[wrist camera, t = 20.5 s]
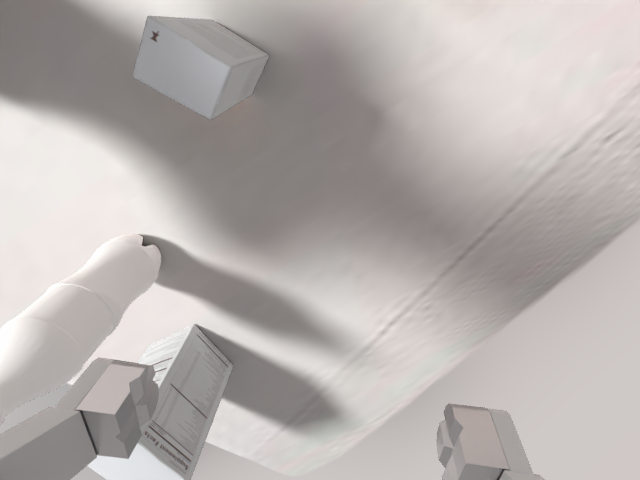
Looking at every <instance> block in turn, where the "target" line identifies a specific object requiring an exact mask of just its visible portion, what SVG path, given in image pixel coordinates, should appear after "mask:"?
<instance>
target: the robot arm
mask: <svg viewBox="0 0 640 480" xmlns="http://www.w3.org/2000/svg"><path fill="white" fill-rule="evenodd" d="M154 376H155V370H154V366H151V365H145V364H139V363H133V362H126V361H120V360H113V359H106V358H98V359H96V360H94V361H93V362H92V363H91V364H90V365H89V367H88V368H87V369H86V370H85V371H84V373H83V374H82V375H81V376H80V377H79V379H78V380H77V381H76V382H75V383H74V385H73V386H72V387H71V388H70V389H69V391H68V392H67V393H66V394H65V396H64V397H63V398H62V399H61V400H60V401H59V403H58V404H57V405H56V406H55V407H48V408H46V409H44V410H43V411H41V412H39V413H37V414H35V415H34V416H32V417H30V418H28V419H27V420H25V421H23V422H21V423H19V424H18V425H16V426H14V427H12V428H11V429H9V430H7V431H5V432H3V433H2V434H0V480H70V479H71V478H73V477H74V476H75V475H76V474H78V473H79V472H80V471H81V470H82V469H84V468H85V467H86V466H87V465H88V464H90V463H91V462H92V461H93V460H94V459H96V458H97V455H99V456H107V457H116V458H125V459H129V457H130V455H131V454H132V452H133V450H134V448H135V446H136V445H137V443H138V441H139V439H140V437H141V436H142V433H141V426H142V425H144V424H145V423H146V422H148V421H149V420H150V419H151V417H152V416H153V414H154V412H155V410H156V406H157V403H158V400H159V388H158V385H157V384H156V383H155V382H154V381H153V380H152V379H153V378H154ZM444 416H445V420H444V421H442V422H440V425H439V427H438V431H437V452H438V458H439V461H440V462H441V463H442V465H443V466H444V467H445V471H444V474H443V476H442V480H544V479H543V478H542V477H541V476H540V475H537V474H533V472H532V470H531V467H530V464H529V462H528V459H527V457H526V454H525V451H524V449H523V447H522V444H521V441H520V439H519V436H518V434H517V431H516V429H515V426H514V424H513V421H512V419H511V416H510V414H509V413H508V412H507V411H503V410H495V409H486V408H483V407H474V406H466V405H457V404H448V405H447V406H446V407H445V410H444Z"/></svg>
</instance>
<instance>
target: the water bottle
mask: <svg viewBox="0 0 640 480" xmlns="http://www.w3.org/2000/svg"><path fill="white" fill-rule="evenodd" d="M142 242H143V237H142V236H140V235H137V234H125V235H120V236H118V237H115V238H113V239H111V240H109V241H107V242H106V243H104V244H103V245H102V246H101V247H99V248H98V249H97V250H96V251H95V253H94V254H93V256H92V257H91V259H90V260H89V261H88V262H87V263H86V264H85V265H84V266H83V267H82V268H81V269H80V270H79V271H77V272H76V273H75V274H73V275H72V276H70V277H68V278H66V279H64V280H63V281H61V282H58V283H56V284H54V285H52V286H51V287H50V288H49V289H48V290H47V291H46V293H45V294H44V295H43V296H41V297H40V298H39V299H38V300H37V301H35V302H34V303H33V304H32V305H30V306H29V307H28V308H27V309H26V310H24V311H23V312H22V313H21V314H19V315H18V316H17V317H16V318H14V319H12V320H10V321H8V322H7V323H6V324H5V325H4V326H3V327H2V328H1V329H0V426H1V425H2V424H3V423H4V417H5V416H7V415H8V414H9V413H10V412H11V411H13V410H14V409H16V408H18V407H19V406H21V405H23V404H25V403H27V402H29V401H31V400H34V399H36V398H38V397H41V396H43V395H45V394H47V393H49V392H51V391H53V390H55V389H57V388H59V387H61V386H62V385H64V384H65V383H67V382H68V381H70V380H71V379H72V378H73V377H75V376H76V374H77V373H78V372H79V371H80V370H81V369H82V367H83V365H84V363H85V362H86V361H87V360H88V359H89V357H90V356H91V355H92V354H93V353H94V352H95V350H96V349H97V348H98V347H99V346H100V344H101V343H102V342H103V341H104V340H105V339H106V337H107V336H109V335H110V334H111V333H112V332H113V331H114V330H115V329H116V327H117V326H118V324H119V322H120V320H121V318H122V316H123V314H124V312H125V311H126V309H127V308H128V307H129V305H130V304H131V303H132V302H133V301H134V300H135V299H136V298H137V297H139V296H140V295H142V294H143V293H145V292H146V291H147V290H148V289H149V288H150V287H151V286H152V284H153V283H154V282H155V280H156V279H157V277H158V274H159V269H160V265H161V253H160V251H159V249H158V248H157V247H156V246H155V245H149V246H146V247H145V246H142Z"/></svg>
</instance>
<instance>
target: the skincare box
mask: <svg viewBox="0 0 640 480" xmlns="http://www.w3.org/2000/svg"><path fill="white" fill-rule="evenodd" d="M268 58H269V55H268V54H266V53H265V52H263V51H262V50H260V49H258V48H257V47H255V46H254V45H252V44H250V43H249V42H247V41H246V40H244V39H242V38H241V37H239V36H238V35H236V34H234V33H233V32H231V31H229V30H228V29H226V28H225V27H223V26H221V25H220V24H218V23H216V22H215V21H213V20H207V19H189V18H174V17H160V16H148V17H147V20H146V24H145V28H144V32H143V36H142V41H141V45H140V49H139V53H138V57H137V60H136V64H135V68H134V72H133V77H134V78H135V79H137V80H139V81H140V82H142V83H144V84H146V85H147V86H149V87H151V88H153V89H155V90H156V91H158V92H160V93H162V94H163V95H165V96H167V97H169V98H171V99H173V100H174V101H176V102H178V103H180V104H182V105H184V106H185V107H187V108H189V109H191V110H193V111H194V112H196V113H198V114H200V115H202V116H203V117H205V118H207V119H208V120H212V119H214V118H215V117H217V116H218V115H220V114H222V113H223V112H225V111H226V110H228V109H230V108H231V107H233V106H235V105H236V104H238V103H239V102H241V101H243V100H244V99H246V98H248V97H249V96H251V95H252V93H253V91H254V89H255V86H256V84H257V82H258V80H259V78H260V76H261V73H262V71H263V69H264V67H265V65H266V62H267V60H268Z"/></svg>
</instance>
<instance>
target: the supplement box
mask: <svg viewBox="0 0 640 480" xmlns="http://www.w3.org/2000/svg"><path fill="white" fill-rule="evenodd" d="M138 363H139V364H145V365H151V366H154V370H155V376H154V378H153V379H152V380H153V381H154V382H155V383H156V384H157V385H158V388H159V400H158V403H157V406H156V410H155V412H154V414H153V416H152V417H151V419H150V420H149V421H148V422H146V423H145V424H144V425H142V426H141V433H142V436H141V437H140V439H139V441H138V443H137V445H136V446H135V448H134V450H133V452H132V454H131V455H130V457H129V459H125V458H116V457H107V456H99V455H97V458H96V459H94V460H93V461H92V462H91V463H90V464H88V465H87V466H89V467H90V468H91V469H93V470H94V471H95V472H97V473H98V474H100V475H101V476H103V477H104V478H105V479H107V480H191V477H192V475H193V472H194V470H195V467H196V464H197V461H198V459H199V456H200V454H201V451H202V448H203V446H204V443H205V440H206V438H207V435H208V432H209V430H210V427H211V425H212V422H213V419H214V416H215V414H216V411H217V408H218V406H219V403H220V401H221V398H222V395H223V393H224V390H225V387H226V385H227V382H228V379H229V377H230V374H231V372H232V369H233V364H232V363H231V362H230V361H229V360H228V359H227V358H226V357H225V356H224V355H223V354H222V353H221V352H220V351H219V350H218V348H217V347H216V346H215V345H214V344H213V343H212V342H211V341H210V340H209V339H208V338H207V337H206V336H205V335H204V334H203V333H202V332H201V330H200V329H199V328H198V327H197V326H196V325H191V326H189V327H187V328H185V329H182V330H180V331H178V332H176V333H174V334H172V335H169V336H167V337H165V338H163V339H160V340H158V341H156V342H154V343H152V344H150V345H149V346H148V348H147V349H146V351H145V352H144V354H143V355H142V357H141V358H140V360H139V361H138Z"/></svg>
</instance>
